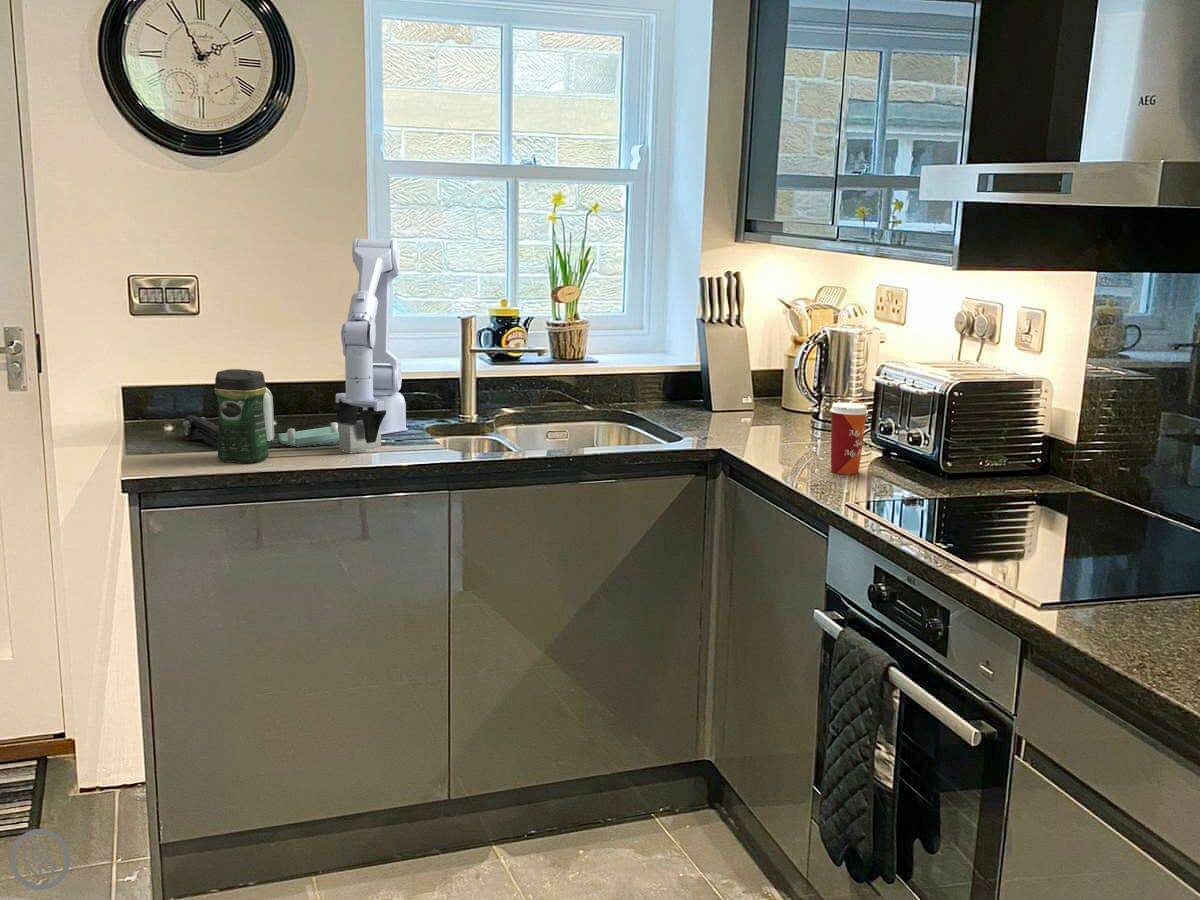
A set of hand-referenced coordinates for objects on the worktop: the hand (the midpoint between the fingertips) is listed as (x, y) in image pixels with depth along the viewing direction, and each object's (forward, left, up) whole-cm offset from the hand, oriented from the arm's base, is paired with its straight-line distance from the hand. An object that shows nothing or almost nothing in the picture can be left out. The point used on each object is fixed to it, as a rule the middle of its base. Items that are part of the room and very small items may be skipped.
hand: (360, 439), depth 250 cm
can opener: (+21, -26, -3) cm, 34 cm away
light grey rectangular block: (0, 0, -2) cm, 2 cm away
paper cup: (-61, +83, -2) cm, 103 cm away
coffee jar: (+24, -7, -2) cm, 25 cm away
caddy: (+3, -13, -2) cm, 13 cm away
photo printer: (+10, -24, -2) cm, 26 cm away
